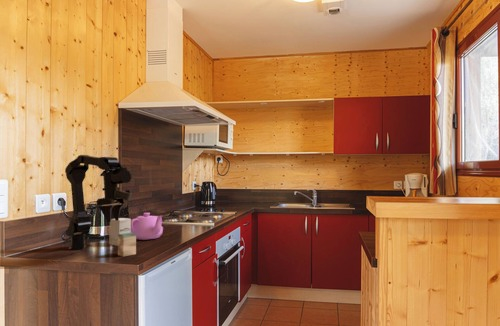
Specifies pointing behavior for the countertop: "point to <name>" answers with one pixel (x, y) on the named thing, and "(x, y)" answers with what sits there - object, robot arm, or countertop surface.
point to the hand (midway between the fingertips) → (113, 221)
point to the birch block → (126, 244)
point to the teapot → (147, 226)
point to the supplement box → (118, 229)
